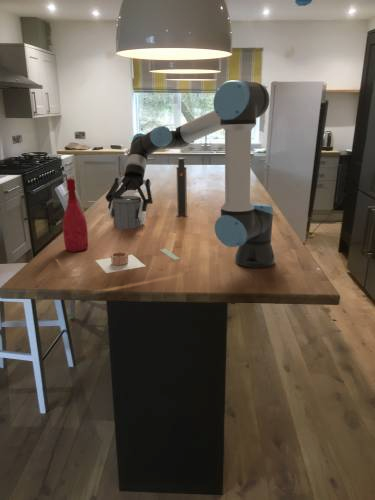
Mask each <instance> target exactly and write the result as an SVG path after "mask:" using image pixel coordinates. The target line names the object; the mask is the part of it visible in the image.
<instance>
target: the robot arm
mask: <svg viewBox="0 0 375 500" xmlns="http://www.w3.org/2000/svg"><path fill="white" fill-rule="evenodd" d="M269 94H270V93H269V91H268V90H267V88H266V87H265V86H264V85H263V84H261V83H259V82H256V81H246V80H241V79H235V80H233V79H231V80H227V81H225V82H223V83H222V84H221V85H220V86H219V88H218V89H217V90H216V91H215V94H214V97H213V103H212V104H213V110H210V111H208V112H206V113H205V114H202V115H200V116H198V117H196V118H194V119H192V120H190V121H188V122H185V123H184V124H181V125H180V126H178V127H175V128H169V127H167V126H166V125H159V126H156V127H154V128H152V129H151V130H150V131H149V132H147V133H143V132H141V133H136V134H135V135H134V136H133V138H132V140H131V143H130V147H129V152H128V158H127V162H126V166H125V169H124V175H123V178H121V179H120V178H118V177H115V179H114V183H113V185H112V186H111V187H110V189H109V191H108V192H107V193H106V195H105V200H106V202H108V206H107V207H108V208H107V209H108V210H109V212H108V216H109V218H110V219H111V220H113V205H112V201H113V198H115V197H119V196H121V195H122V194H123V193H124V192H126V191H127V190H138V192H139V194H140V198H141V204H140V209H139V214H138V218H139V220H142V216H143V212H145V211H146V212H147V207H148V205H149V204H150V205H151V204H153V203H154V201H153V196H152V192H151V184H152V183H151V180H150V179H149V178H147V179H144V178H145V173H146V167H147V162H148V158H149V156H150V155H152V154H153V153H155V152H157V151H159V150H165V149H166V150H167V149H175V148H180V149H182V148H185V147H189V145H191V143H192V142H195V141H197V140H199V139H202V138H204V137H207V136H209V135H212V134H214V133H216V132H218V131H221V130H224V198H225V199H224V203H223V204H222V205H221V206H220V216H219V217H218V218H217V220H216V221H215V223H214V233H215V236H216V238H217V239H218V240H219V241H220V243H221V244H223V245H224V246H226V247H228V248H237V250H236V253H235V255H234V262H235V263H236V264H237V265H238V266H241V267H244V268H251V269H263V268H270V267H272V266H273V265H274V264H275V254H274V251H273V250H274V249H273V245H272V234H273V233H272V232H273V219H274V213H273V212H274V208H273V206H272V205H271V204H267V203H261V202H251V167H252V166H251V162H252V161H251V159H252V130H253V129H254V128H255V126H256V125H257V118H260V117H262V116H263V115H264V114H265V112H267V110H268V109H269V106H270V95H269ZM143 185H144V186H145V188H146V194H147V198H146V196H145V194H144V192H143V191H142V188H141V187H142V186H143Z"/></svg>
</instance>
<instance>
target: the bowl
mask: <svg viewBox="0 0 375 500" xmlns="http://www.w3.org/2000/svg"><path fill="white" fill-rule="evenodd" d="M128 255H129V253H127V252H126V251H125V252H123V251H117V252H113V253H111V254H110V258H111V262H112V264H114V265H116V266H121V265H125V264H127V263H128Z"/></svg>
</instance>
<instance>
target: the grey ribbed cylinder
mask: <svg viewBox="0 0 375 500" xmlns="http://www.w3.org/2000/svg"><path fill="white" fill-rule="evenodd" d="M141 201H142V198H141V196H140V197H137V196H119V197H115V198H113V201H112V205H113V219H112V220H113V222H112V223H113V227H115V228H118V229H124V230H125V229H127V230H129V229H136V228H140V227H141V226H142V225H143V223H142V220H139V218H138V214H139V209H140V204H141Z"/></svg>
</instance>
